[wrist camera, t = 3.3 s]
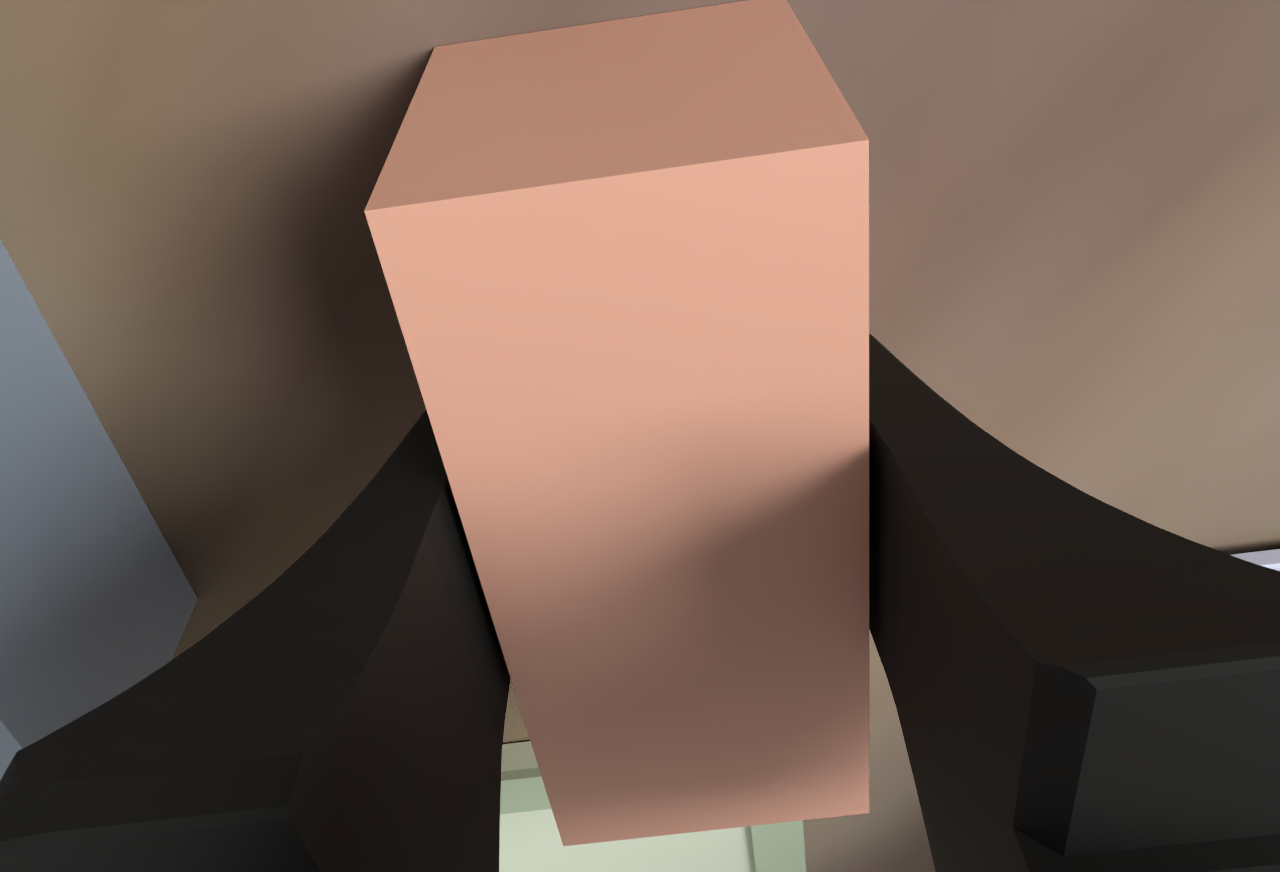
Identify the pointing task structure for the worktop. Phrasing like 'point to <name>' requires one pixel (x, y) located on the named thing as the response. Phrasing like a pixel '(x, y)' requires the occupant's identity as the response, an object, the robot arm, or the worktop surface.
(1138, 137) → the worktop surface
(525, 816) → the baseplate
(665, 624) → the coral brick
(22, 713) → the slate brick
